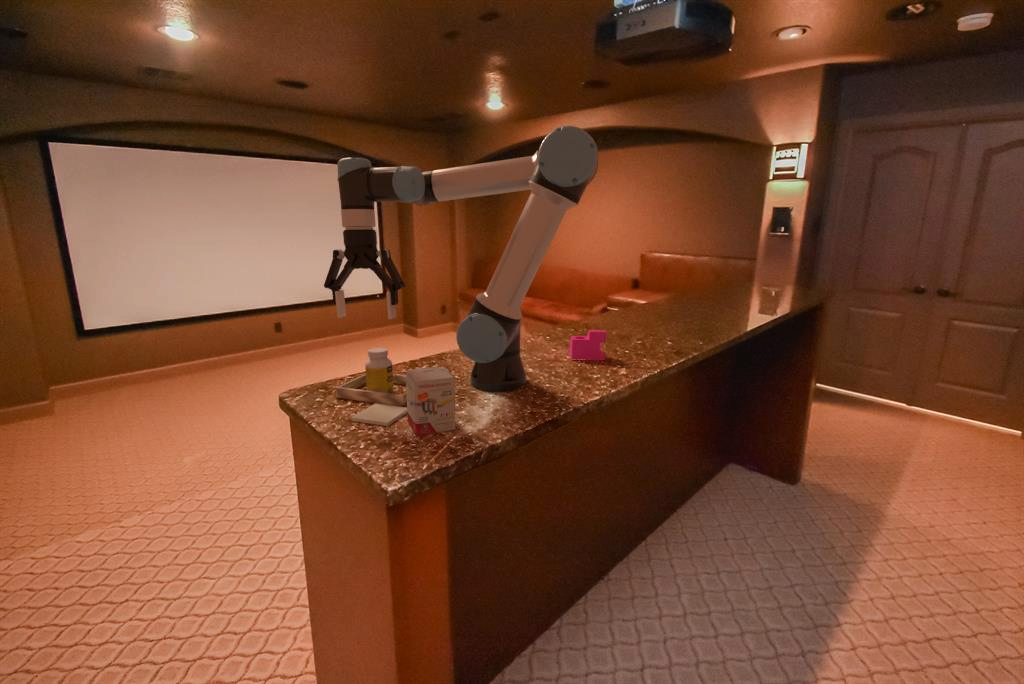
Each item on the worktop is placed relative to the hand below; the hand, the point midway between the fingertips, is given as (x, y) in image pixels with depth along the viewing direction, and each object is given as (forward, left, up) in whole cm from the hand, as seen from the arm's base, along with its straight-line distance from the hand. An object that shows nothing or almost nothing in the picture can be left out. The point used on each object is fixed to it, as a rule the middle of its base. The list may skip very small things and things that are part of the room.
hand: (366, 317), depth 117 cm
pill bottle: (-3, +1, -20) cm, 20 cm away
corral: (-3, -1, -19) cm, 20 cm away
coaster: (-11, +13, -19) cm, 26 cm away
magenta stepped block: (-46, -51, -20) cm, 72 cm away
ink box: (-24, +14, -20) cm, 34 cm away
